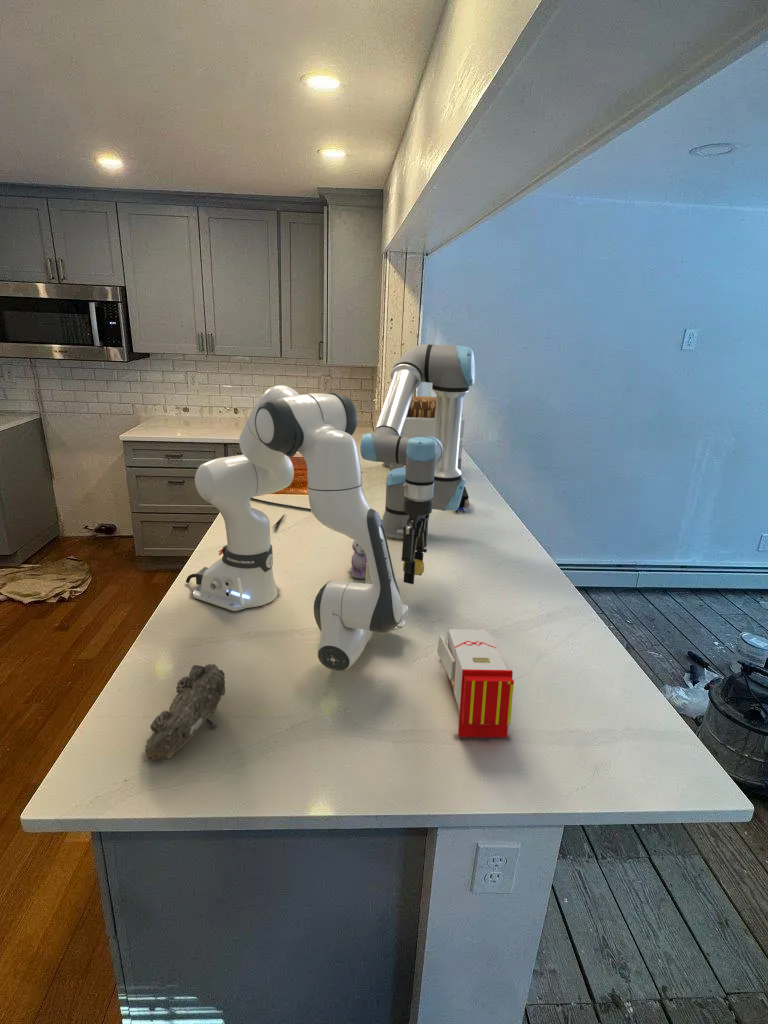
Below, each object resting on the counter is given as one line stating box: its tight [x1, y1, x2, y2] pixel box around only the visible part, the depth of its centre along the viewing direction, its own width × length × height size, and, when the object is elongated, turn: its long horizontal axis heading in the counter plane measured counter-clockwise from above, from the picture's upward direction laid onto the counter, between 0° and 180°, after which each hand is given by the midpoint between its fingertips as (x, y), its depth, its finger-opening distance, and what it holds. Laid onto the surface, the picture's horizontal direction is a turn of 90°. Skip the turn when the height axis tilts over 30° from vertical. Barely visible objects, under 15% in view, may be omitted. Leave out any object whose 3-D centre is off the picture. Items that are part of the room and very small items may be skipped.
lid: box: [402, 559, 425, 576], centre depth 154 cm, size 6×6×2 cm
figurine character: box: [455, 486, 470, 513], centre depth 227 cm, size 7×8×15 cm
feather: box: [270, 514, 286, 532], centre depth 209 cm, size 2×28×2 cm
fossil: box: [144, 663, 226, 761], centre depth 105 cm, size 22×10×15 cm
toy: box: [437, 628, 515, 738], centre depth 117 cm, size 12×13×30 cm
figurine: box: [350, 540, 367, 580], centre depth 167 cm, size 9×10×15 cm
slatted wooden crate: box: [382, 395, 465, 472], centre depth 268 cm, size 34×33×41 cm
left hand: (375, 595), depth 144 cm, fingers closed on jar, 5 cm apart
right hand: (412, 578), depth 155 cm, fingers closed on lid, 5 cm apart
